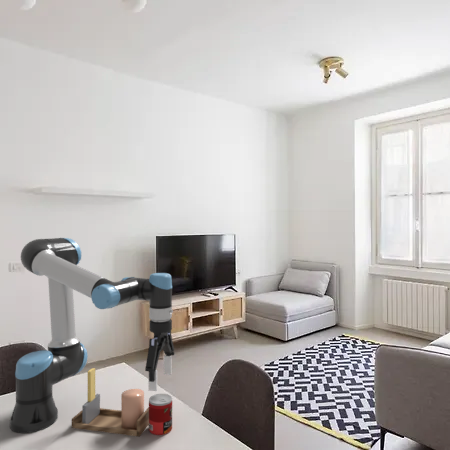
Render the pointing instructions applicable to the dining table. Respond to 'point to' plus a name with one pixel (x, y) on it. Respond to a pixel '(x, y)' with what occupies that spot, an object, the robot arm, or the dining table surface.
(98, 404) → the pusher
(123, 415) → the peach rounded capsule
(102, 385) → the dining table surface
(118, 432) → the brown wooden tray
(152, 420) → the canned food
